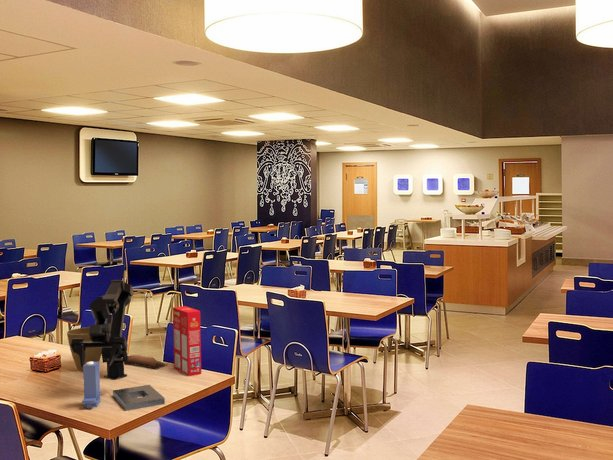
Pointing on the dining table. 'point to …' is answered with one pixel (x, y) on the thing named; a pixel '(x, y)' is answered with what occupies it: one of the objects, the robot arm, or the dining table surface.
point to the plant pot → (91, 352)
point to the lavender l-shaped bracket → (91, 384)
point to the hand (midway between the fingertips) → (95, 366)
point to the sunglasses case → (145, 361)
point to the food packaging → (187, 340)
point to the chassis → (130, 402)
